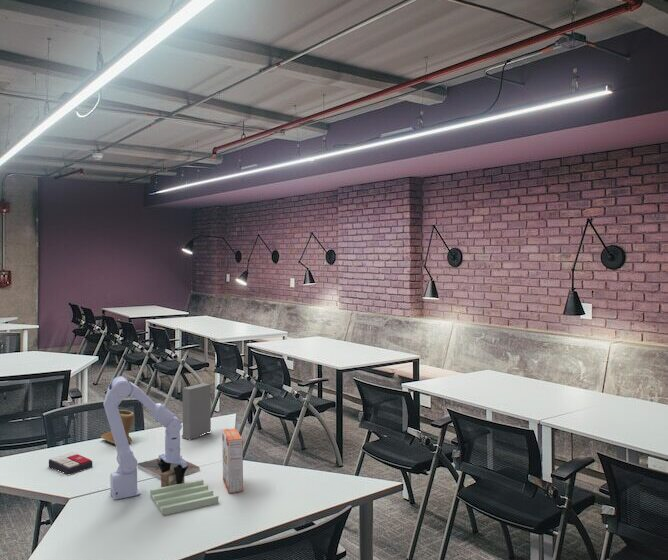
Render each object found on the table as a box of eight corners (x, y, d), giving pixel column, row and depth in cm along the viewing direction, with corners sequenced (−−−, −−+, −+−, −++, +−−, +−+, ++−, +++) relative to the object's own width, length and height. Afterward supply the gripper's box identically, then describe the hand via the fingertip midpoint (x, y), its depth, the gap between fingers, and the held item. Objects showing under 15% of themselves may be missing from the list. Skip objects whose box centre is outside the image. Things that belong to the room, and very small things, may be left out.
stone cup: (138, 442, 278) (138, 411, 277) (114, 448, 269) (114, 416, 269) (123, 435, 288) (123, 405, 288) (100, 440, 280) (100, 410, 279)
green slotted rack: (163, 515, 201) (163, 508, 201) (150, 496, 217) (150, 489, 216) (218, 503, 211) (218, 496, 211) (202, 485, 227) (202, 479, 227)
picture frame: (137, 469, 245) (164, 483, 230) (137, 463, 245) (164, 477, 230) (171, 459, 257) (199, 472, 242) (171, 453, 257) (199, 466, 242)
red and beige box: (68, 467, 236) (48, 457, 245) (68, 477, 237) (48, 467, 245) (92, 459, 245) (72, 450, 254) (92, 469, 246) (72, 460, 254)
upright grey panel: (202, 431, 296) (202, 382, 295) (211, 433, 292) (210, 384, 291) (181, 438, 285) (181, 387, 283) (189, 440, 281) (189, 389, 280)
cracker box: (221, 480, 232) (221, 428, 231) (236, 478, 234) (236, 427, 233) (227, 494, 219) (227, 439, 218) (243, 491, 221) (243, 438, 220)
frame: (166, 490, 222) (166, 475, 222) (160, 488, 224) (160, 473, 224) (184, 483, 229) (184, 468, 229) (178, 481, 231) (178, 466, 231)
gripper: (193, 448, 225) (193, 482, 226) (168, 441, 233) (168, 474, 234) (179, 453, 219) (179, 488, 220) (154, 445, 227) (154, 479, 228)
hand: (172, 481), depth 227 cm, fingers open, 7 cm apart
